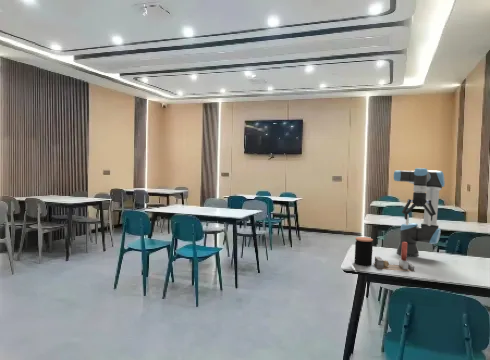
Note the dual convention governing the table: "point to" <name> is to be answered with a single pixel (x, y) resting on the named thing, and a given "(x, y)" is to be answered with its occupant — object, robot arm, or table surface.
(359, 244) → the coffee jar
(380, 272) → the table surface
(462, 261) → the table surface
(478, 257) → the table surface
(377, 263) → the board
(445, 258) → the table surface
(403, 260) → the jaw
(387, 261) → the nut
